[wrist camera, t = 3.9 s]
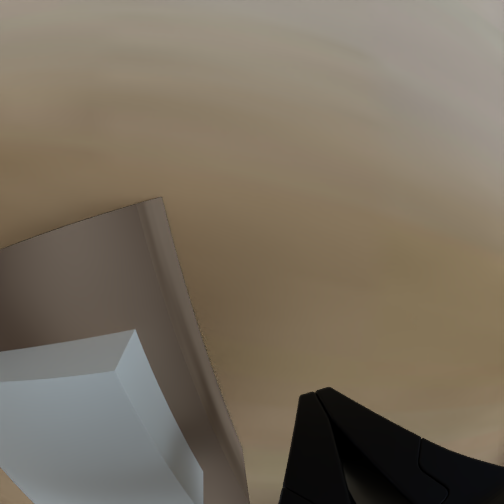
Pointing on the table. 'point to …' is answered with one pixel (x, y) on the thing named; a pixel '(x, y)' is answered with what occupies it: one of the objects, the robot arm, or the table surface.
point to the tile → (92, 426)
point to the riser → (126, 320)
